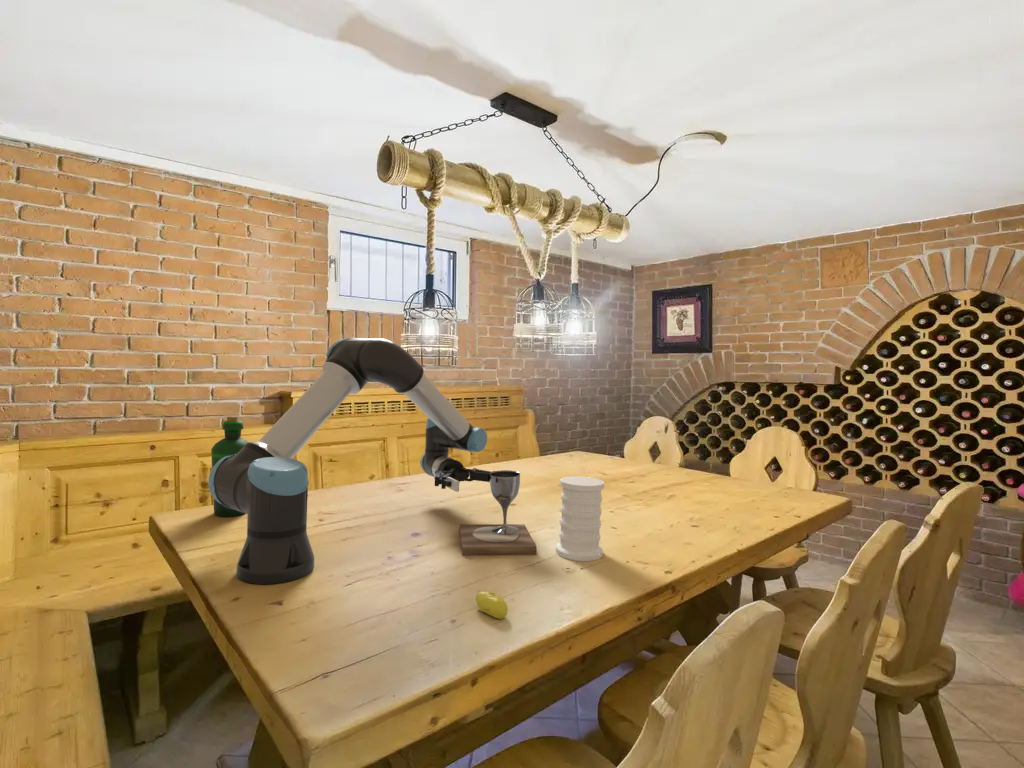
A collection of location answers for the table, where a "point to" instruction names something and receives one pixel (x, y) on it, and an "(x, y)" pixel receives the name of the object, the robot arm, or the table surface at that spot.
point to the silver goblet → (504, 495)
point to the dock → (495, 540)
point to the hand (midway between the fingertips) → (480, 484)
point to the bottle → (228, 454)
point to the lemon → (491, 604)
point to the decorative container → (580, 518)
